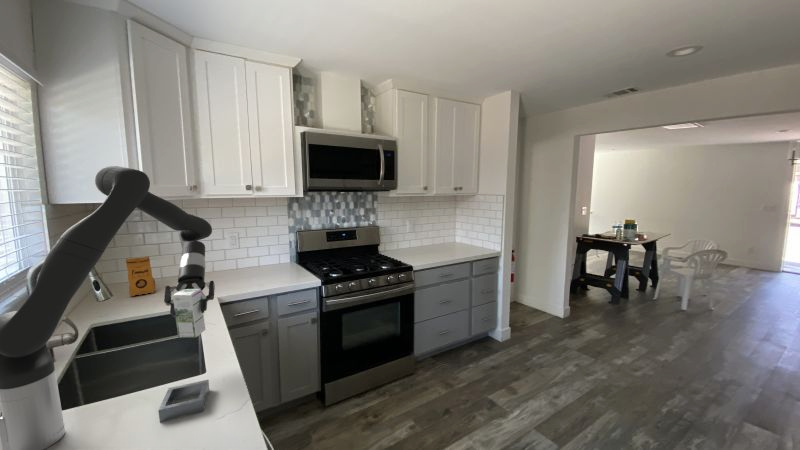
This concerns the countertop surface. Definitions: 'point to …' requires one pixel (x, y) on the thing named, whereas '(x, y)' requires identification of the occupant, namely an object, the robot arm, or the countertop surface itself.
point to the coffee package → (140, 276)
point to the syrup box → (188, 313)
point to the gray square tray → (187, 407)
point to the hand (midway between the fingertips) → (188, 313)
